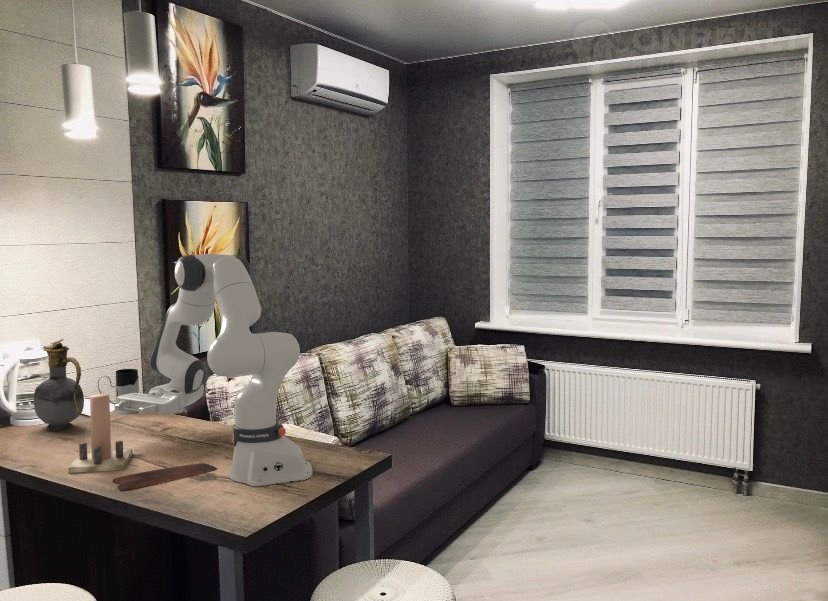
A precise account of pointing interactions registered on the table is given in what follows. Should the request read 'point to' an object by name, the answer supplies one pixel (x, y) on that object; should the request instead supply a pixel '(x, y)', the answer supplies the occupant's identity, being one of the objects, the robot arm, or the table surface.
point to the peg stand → (100, 459)
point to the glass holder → (125, 385)
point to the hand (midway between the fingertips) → (128, 409)
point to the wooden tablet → (160, 476)
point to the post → (100, 424)
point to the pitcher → (59, 391)
